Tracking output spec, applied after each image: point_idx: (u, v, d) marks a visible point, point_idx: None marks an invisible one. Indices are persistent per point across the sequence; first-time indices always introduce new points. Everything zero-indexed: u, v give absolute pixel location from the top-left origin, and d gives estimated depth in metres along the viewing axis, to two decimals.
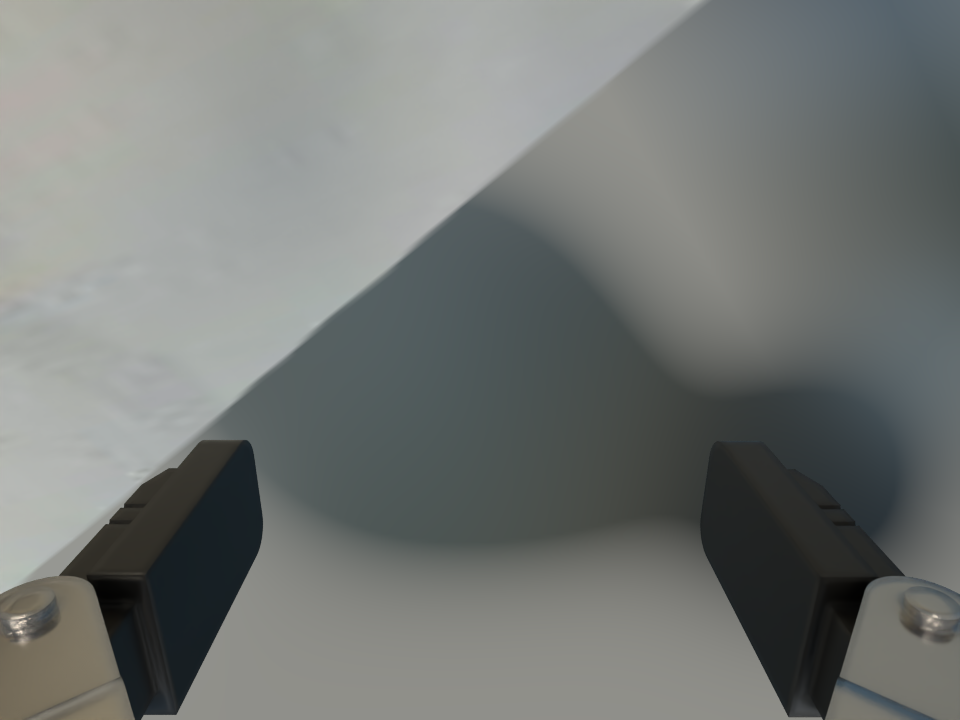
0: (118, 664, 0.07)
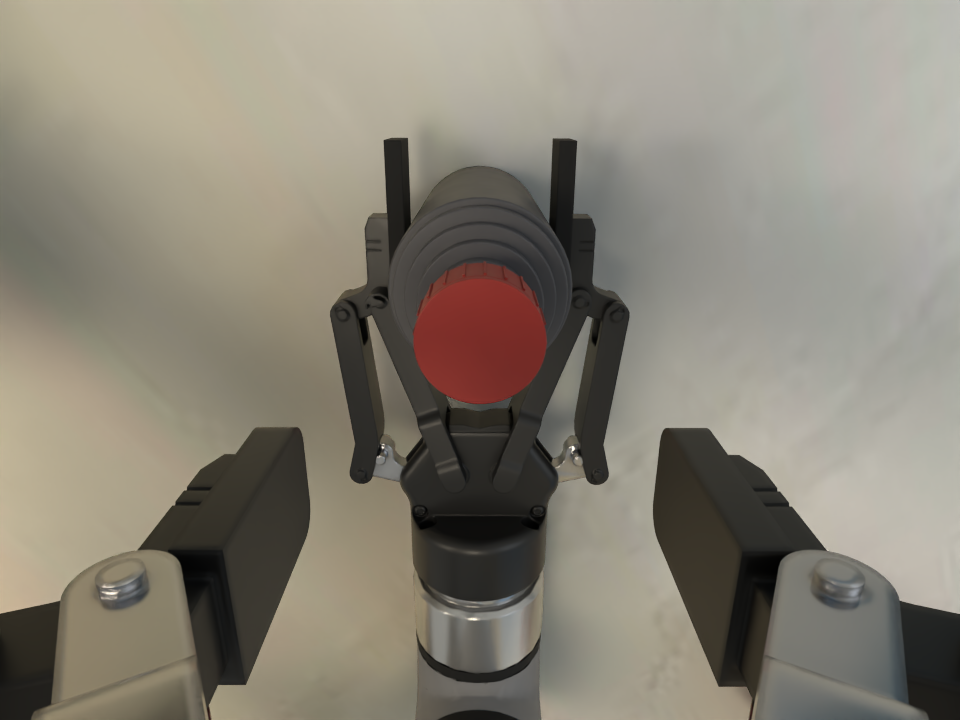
0: (200, 633, 0.08)
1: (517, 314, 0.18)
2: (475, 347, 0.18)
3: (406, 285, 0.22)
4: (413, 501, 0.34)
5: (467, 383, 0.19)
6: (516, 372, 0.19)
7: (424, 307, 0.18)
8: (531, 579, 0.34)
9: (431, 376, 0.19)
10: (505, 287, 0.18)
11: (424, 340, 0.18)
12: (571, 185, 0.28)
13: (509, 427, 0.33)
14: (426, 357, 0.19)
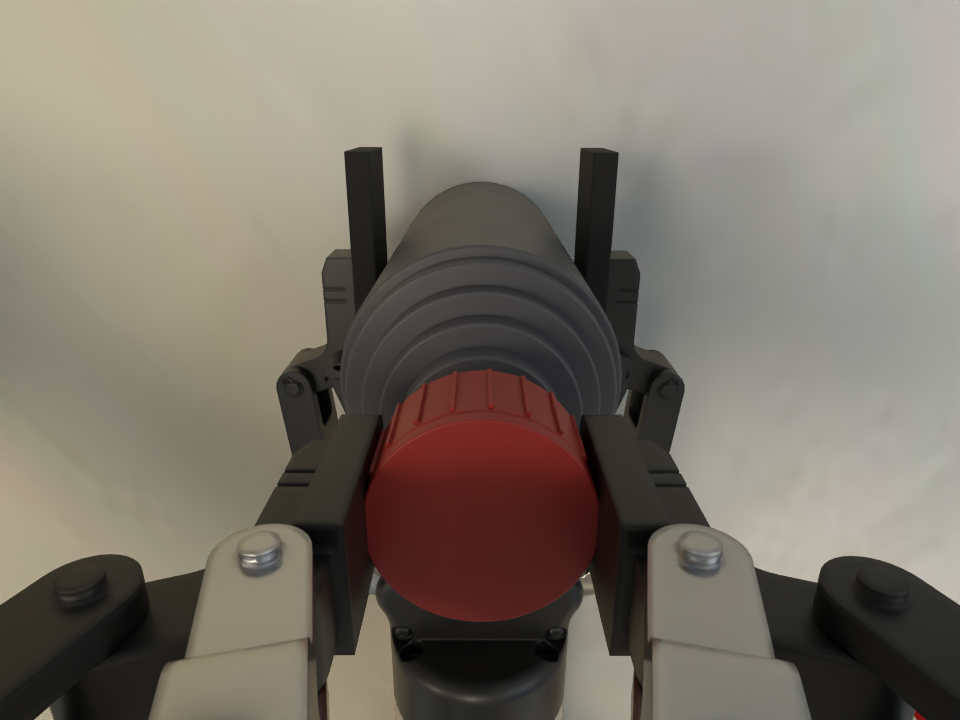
0: (325, 602, 0.08)
1: (549, 480, 0.10)
2: (473, 534, 0.10)
3: (365, 384, 0.14)
4: (393, 622, 0.26)
5: (459, 590, 0.11)
6: (546, 573, 0.11)
7: (380, 467, 0.10)
8: None
9: (395, 580, 0.11)
10: (528, 435, 0.10)
11: (381, 522, 0.10)
12: (609, 214, 0.20)
13: None
14: (385, 549, 0.10)
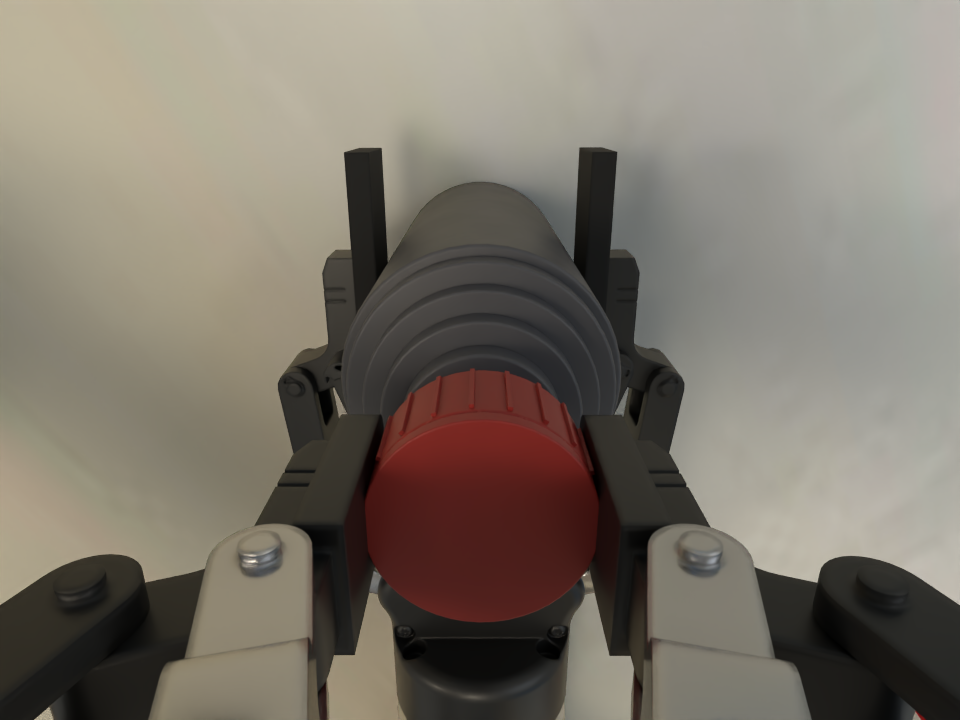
0: (325, 602, 0.08)
1: (414, 479, 0.10)
2: (489, 534, 0.10)
3: (366, 383, 0.14)
4: (395, 620, 0.26)
5: (561, 537, 0.10)
6: (528, 462, 0.10)
7: (433, 612, 0.11)
8: None
9: (554, 592, 0.11)
10: (370, 504, 0.10)
11: (490, 607, 0.11)
12: (608, 213, 0.20)
13: None
14: (521, 601, 0.11)
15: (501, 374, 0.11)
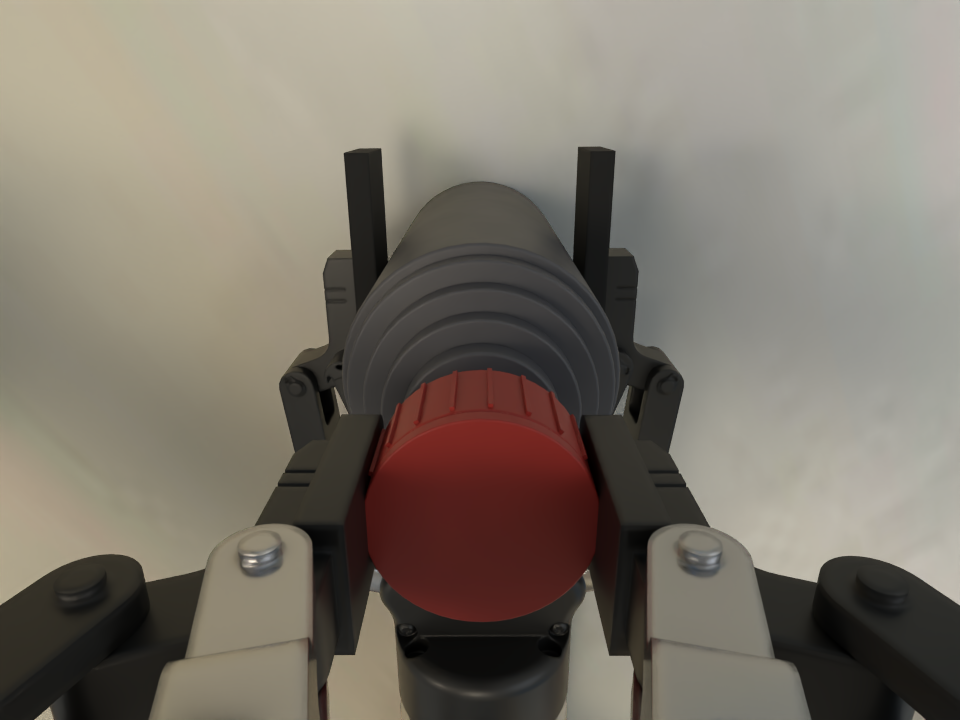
0: (325, 602, 0.08)
1: (437, 587, 0.11)
2: (487, 520, 0.10)
3: (366, 382, 0.14)
4: (397, 619, 0.27)
5: (479, 456, 0.10)
6: (399, 499, 0.10)
7: (593, 553, 0.10)
8: (552, 719, 0.27)
9: (550, 451, 0.10)
10: (472, 616, 0.11)
11: (580, 506, 0.10)
12: (607, 212, 0.20)
13: None
14: (568, 479, 0.10)
15: None
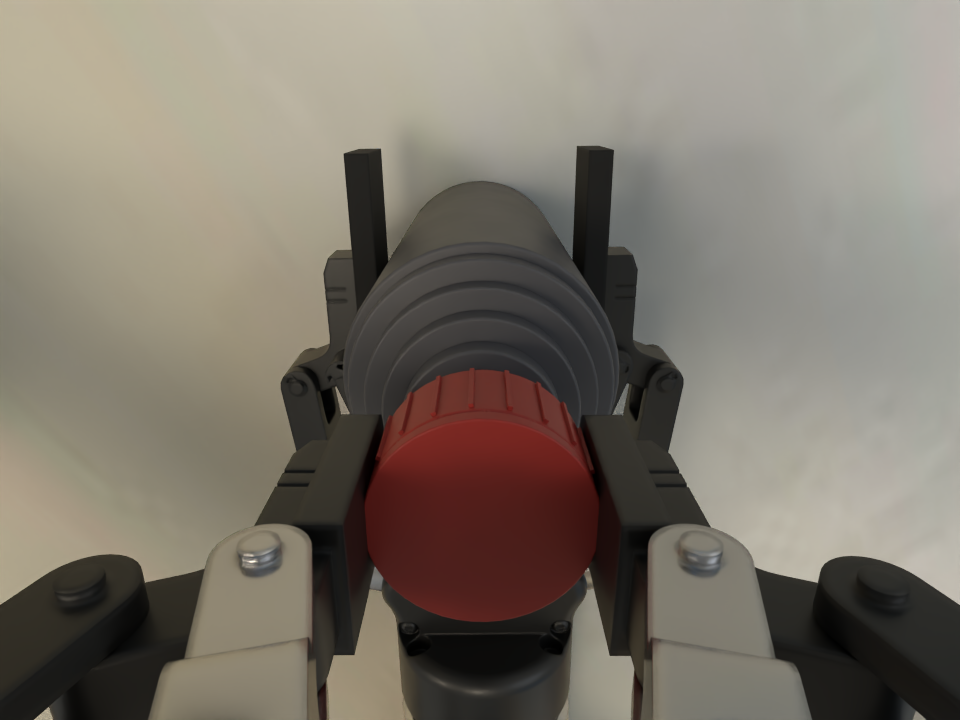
0: (324, 603, 0.08)
1: (559, 556, 0.10)
2: (472, 524, 0.10)
3: (367, 380, 0.14)
4: (399, 617, 0.27)
5: (402, 540, 0.10)
6: (463, 595, 0.11)
7: (497, 420, 0.10)
8: (554, 716, 0.27)
9: (382, 485, 0.10)
10: (595, 520, 0.10)
11: (439, 446, 0.10)
12: (606, 211, 0.20)
13: None
14: (410, 462, 0.10)
15: None
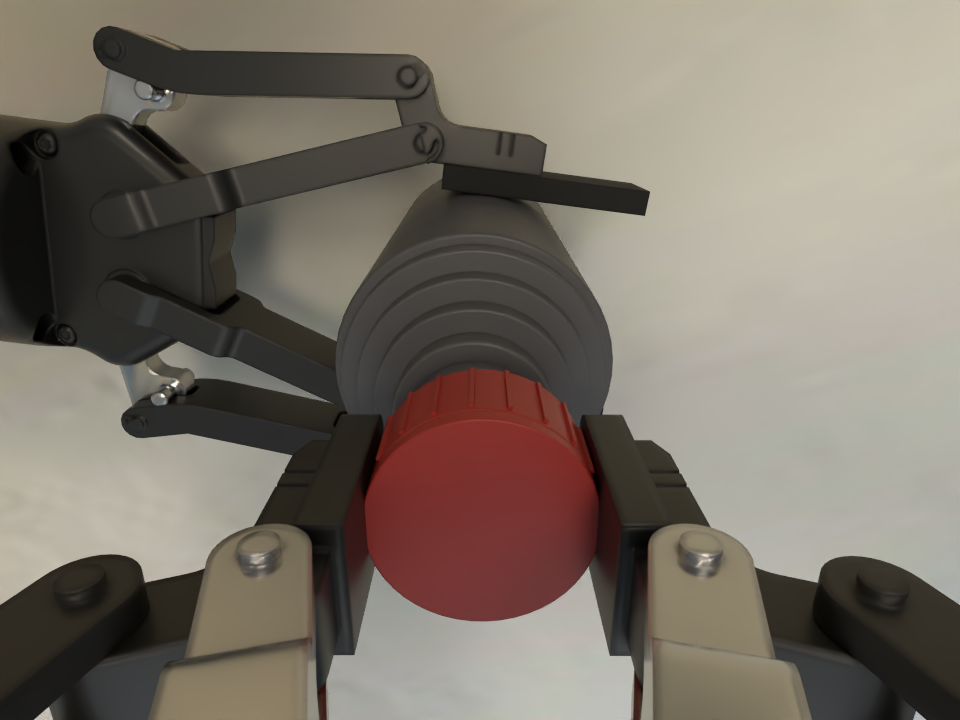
0: (324, 602, 0.08)
1: (559, 555, 0.10)
2: (472, 524, 0.10)
3: (514, 287, 0.14)
4: (64, 135, 0.20)
5: (403, 540, 0.10)
6: (463, 595, 0.11)
7: (497, 419, 0.10)
8: None
9: (382, 484, 0.10)
10: (595, 520, 0.10)
11: (439, 446, 0.10)
12: None
13: (211, 307, 0.22)
14: (411, 461, 0.10)
15: None
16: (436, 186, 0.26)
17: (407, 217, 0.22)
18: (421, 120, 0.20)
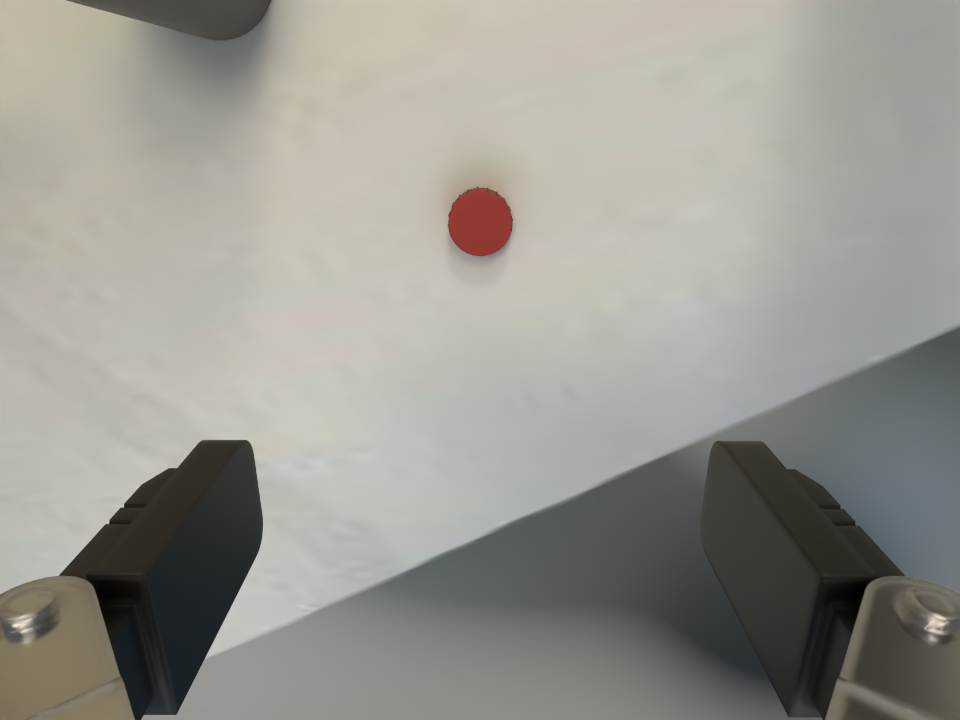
0: (118, 664, 0.07)
1: (501, 233, 0.39)
2: (477, 223, 0.38)
3: None
4: None
5: (459, 228, 0.39)
6: (475, 246, 0.39)
7: (484, 192, 0.38)
8: None
9: (454, 210, 0.38)
10: (510, 222, 0.38)
11: (469, 199, 0.38)
12: None
13: None
14: (462, 204, 0.38)
15: None
16: None
17: None
18: None
